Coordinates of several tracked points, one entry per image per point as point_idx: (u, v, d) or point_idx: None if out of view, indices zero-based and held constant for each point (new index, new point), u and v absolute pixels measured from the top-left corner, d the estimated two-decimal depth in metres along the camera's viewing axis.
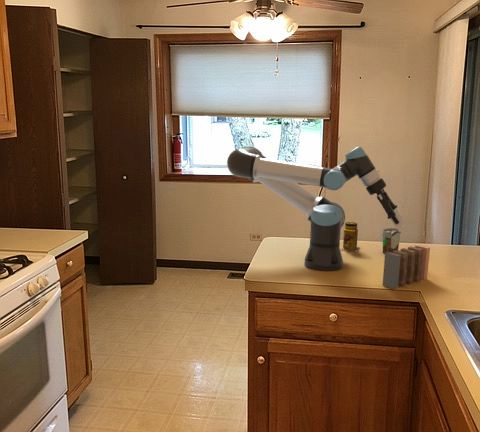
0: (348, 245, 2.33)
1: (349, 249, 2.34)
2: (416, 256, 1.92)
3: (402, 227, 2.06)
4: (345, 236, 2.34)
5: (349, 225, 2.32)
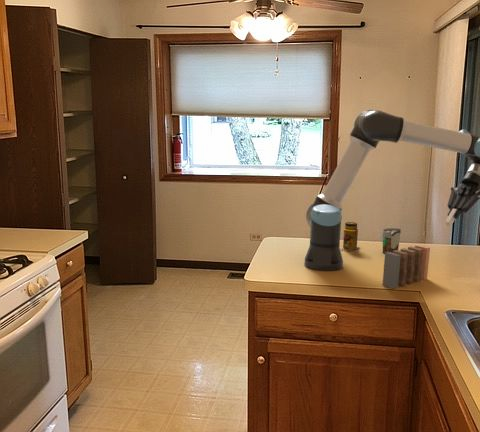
0: (348, 245, 2.33)
1: (349, 249, 2.34)
2: (416, 256, 1.92)
3: (451, 223, 2.05)
4: (345, 236, 2.34)
5: (349, 225, 2.32)
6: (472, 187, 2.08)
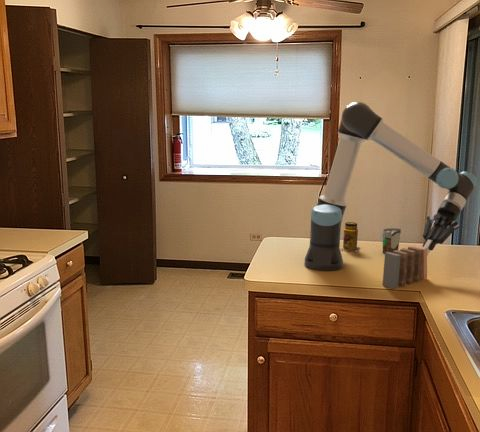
0: (348, 245, 2.33)
1: (349, 249, 2.34)
2: (416, 256, 1.92)
3: None
4: (345, 236, 2.34)
5: (349, 225, 2.32)
6: (448, 217, 2.00)
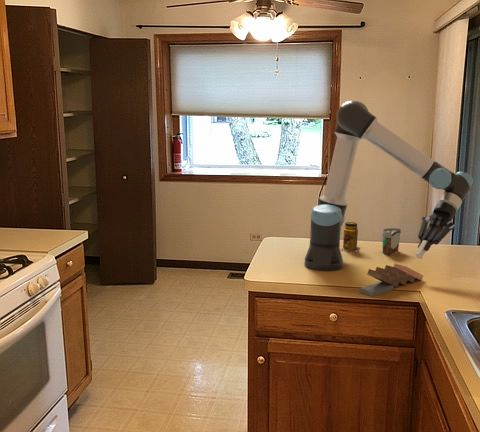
0: (348, 245, 2.33)
1: (349, 249, 2.34)
2: None
3: (421, 255, 1.96)
4: (345, 236, 2.34)
5: (349, 225, 2.32)
6: (444, 217, 1.99)
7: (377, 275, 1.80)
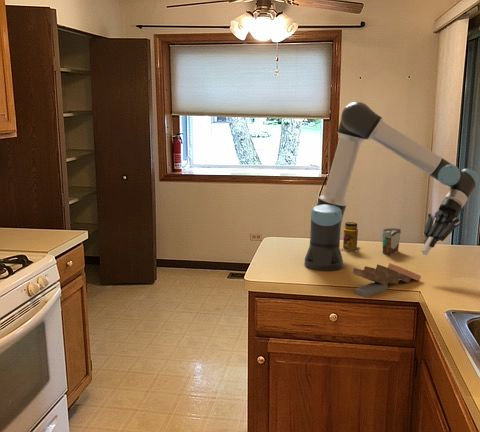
0: (348, 245, 2.33)
1: (349, 249, 2.34)
2: None
3: (427, 252, 1.97)
4: (345, 236, 2.34)
5: (349, 225, 2.32)
6: (449, 214, 2.00)
7: (360, 273, 1.82)
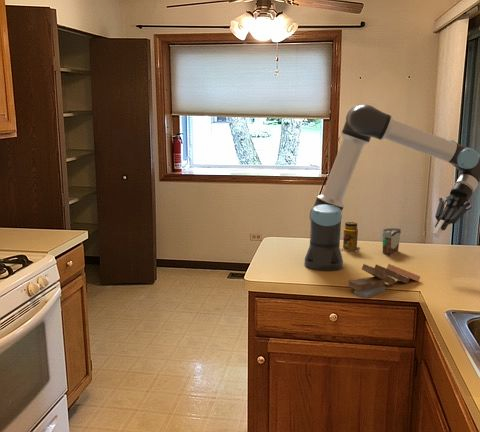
0: (348, 245, 2.33)
1: (349, 249, 2.34)
2: None
3: (438, 234, 2.01)
4: (345, 236, 2.34)
5: (349, 225, 2.32)
6: (460, 198, 2.04)
7: (356, 287, 1.79)
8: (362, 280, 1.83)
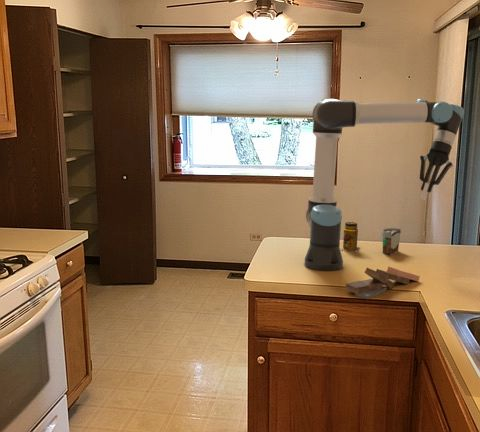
0: (348, 245, 2.33)
1: (349, 249, 2.34)
2: None
3: (425, 197, 2.12)
4: (345, 236, 2.34)
5: (349, 225, 2.32)
6: (442, 157, 2.10)
7: (353, 290, 1.77)
8: (359, 282, 1.81)
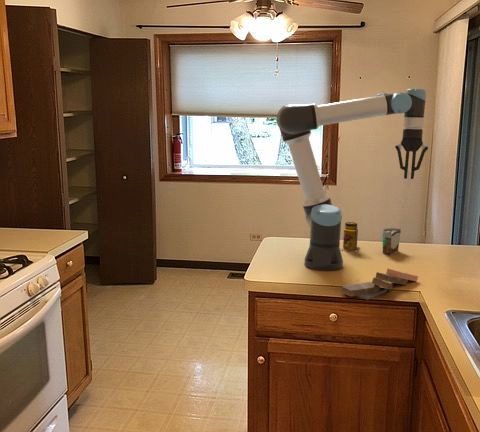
0: (348, 245, 2.33)
1: (349, 249, 2.34)
2: None
3: None
4: (345, 236, 2.34)
5: (349, 225, 2.32)
6: (416, 143, 2.13)
7: (348, 293, 1.75)
8: (355, 285, 1.78)
